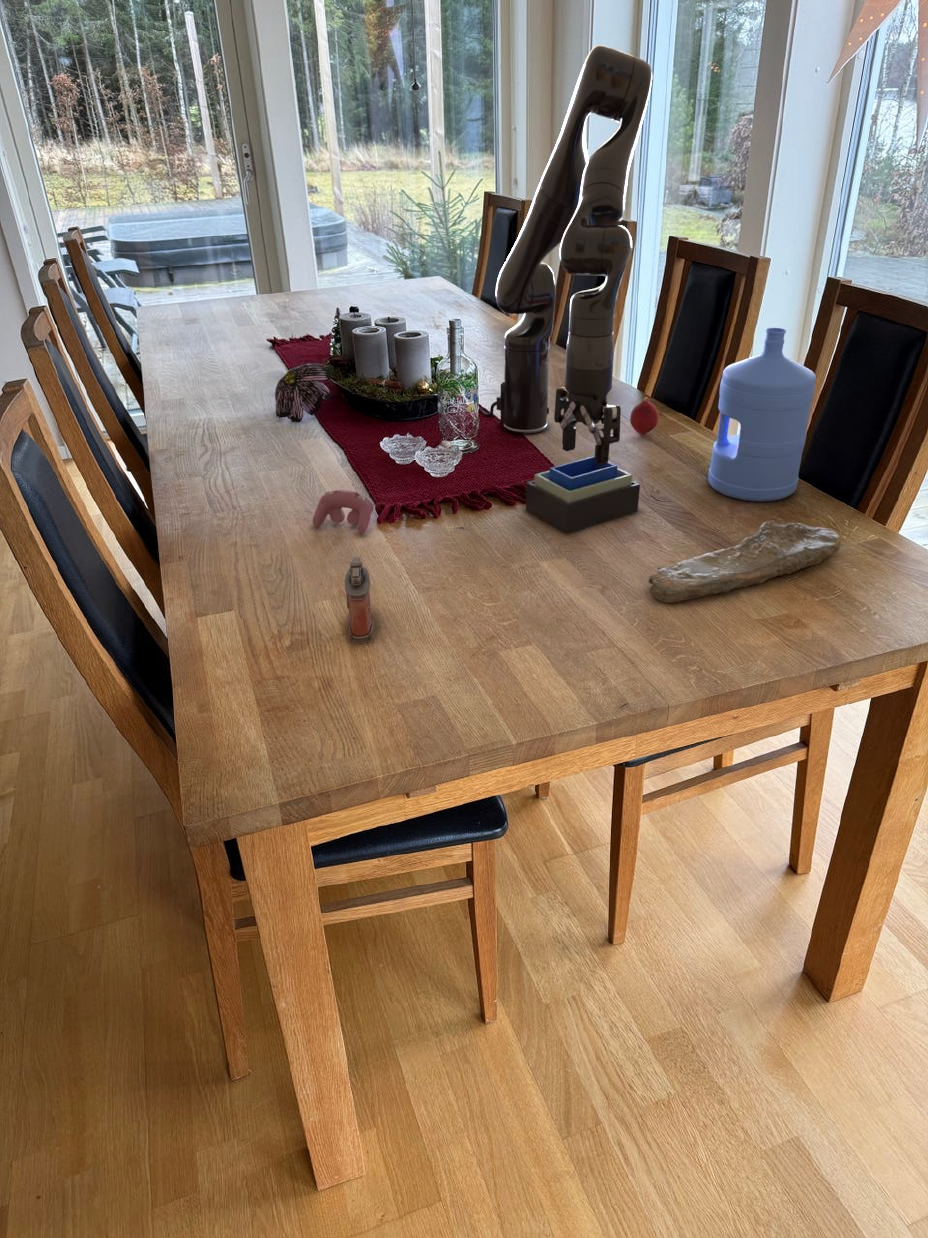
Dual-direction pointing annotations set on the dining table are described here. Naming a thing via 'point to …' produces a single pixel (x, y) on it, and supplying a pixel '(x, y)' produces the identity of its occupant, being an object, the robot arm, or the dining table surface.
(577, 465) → the blue bin
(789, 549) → the elongated rock
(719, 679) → the dining table surface
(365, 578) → the lighter
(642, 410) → the onion
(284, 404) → the decorative flower
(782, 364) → the water jug
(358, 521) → the video game controller
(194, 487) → the dining table surface
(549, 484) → the middle bin
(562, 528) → the outer bin
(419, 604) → the dining table surface
